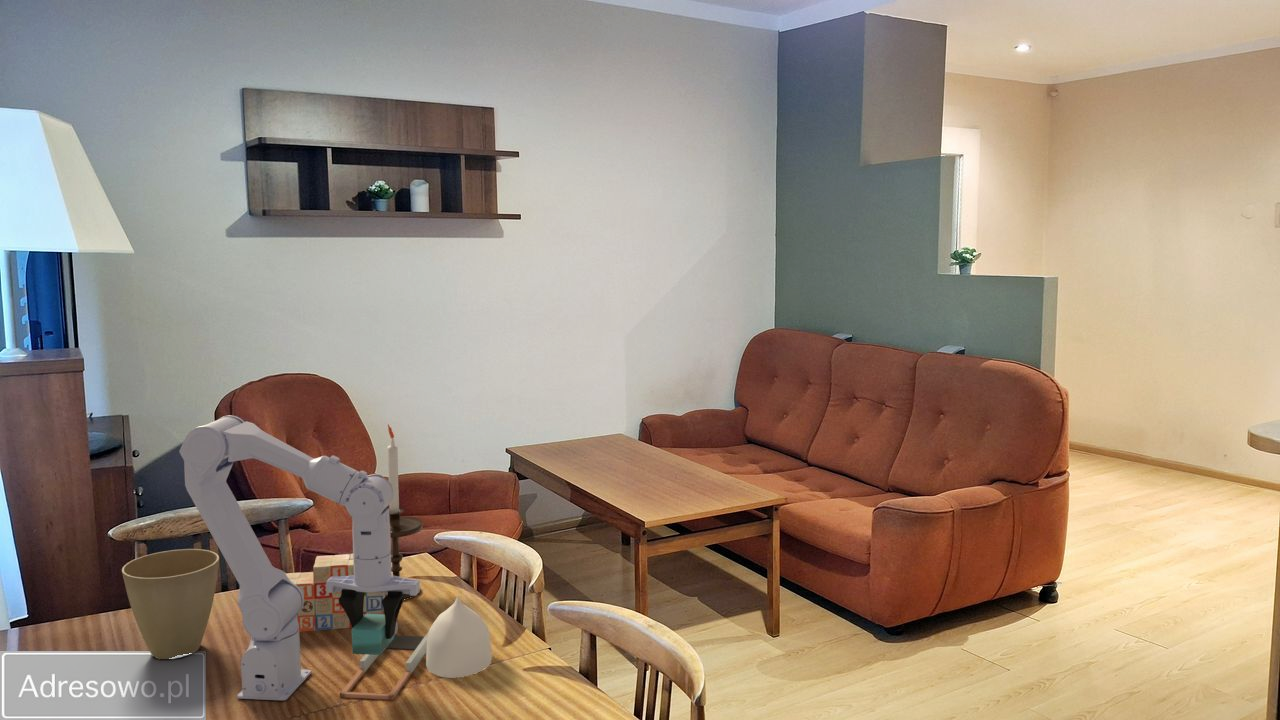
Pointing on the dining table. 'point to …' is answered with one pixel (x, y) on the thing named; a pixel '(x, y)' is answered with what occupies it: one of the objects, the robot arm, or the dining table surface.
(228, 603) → the dining table surface
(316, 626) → the stack of blocks
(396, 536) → the candlestick
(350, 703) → the dining table surface
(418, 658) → the channel
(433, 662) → the teardrop
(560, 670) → the dining table surface
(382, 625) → the block
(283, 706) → the dining table surface
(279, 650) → the robot arm
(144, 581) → the plant pot
